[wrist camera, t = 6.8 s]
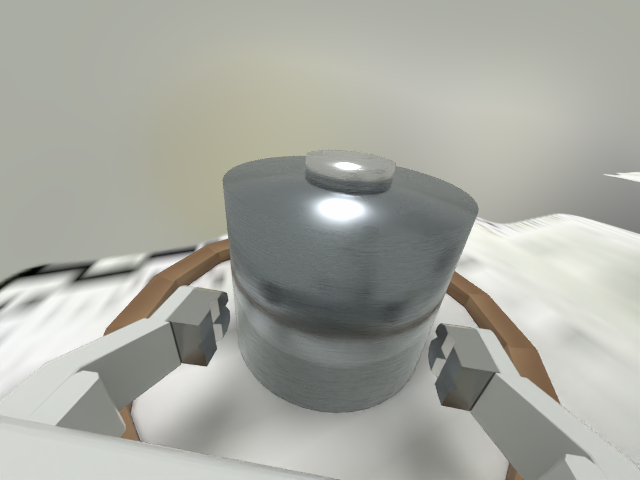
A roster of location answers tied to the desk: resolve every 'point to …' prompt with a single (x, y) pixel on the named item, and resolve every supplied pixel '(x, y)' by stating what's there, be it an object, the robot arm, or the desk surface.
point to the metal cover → (339, 272)
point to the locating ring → (459, 289)
